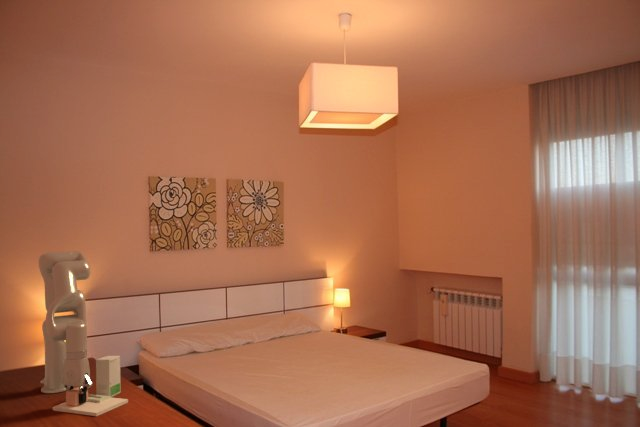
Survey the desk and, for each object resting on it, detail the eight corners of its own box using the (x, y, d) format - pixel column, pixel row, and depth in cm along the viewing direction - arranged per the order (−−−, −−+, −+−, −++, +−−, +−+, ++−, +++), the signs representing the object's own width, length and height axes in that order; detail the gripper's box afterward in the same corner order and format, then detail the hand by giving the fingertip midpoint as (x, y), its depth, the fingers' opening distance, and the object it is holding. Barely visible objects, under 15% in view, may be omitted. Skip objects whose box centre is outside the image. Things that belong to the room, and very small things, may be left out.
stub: (65, 404, 195) (65, 391, 196) (78, 399, 201) (78, 386, 201) (75, 405, 194) (75, 392, 194) (88, 400, 199) (87, 388, 199)
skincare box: (109, 398, 206) (109, 360, 207) (95, 398, 208) (94, 359, 208) (121, 392, 214) (121, 355, 215) (107, 391, 216) (107, 354, 216)
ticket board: (52, 410, 194) (52, 404, 194) (86, 397, 209) (86, 391, 209) (96, 416, 186) (96, 409, 186) (128, 402, 201) (128, 396, 201)
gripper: (52, 356, 198) (52, 403, 197) (85, 358, 191) (85, 407, 191) (68, 351, 205) (68, 397, 204) (100, 354, 198) (101, 401, 198)
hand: (77, 401), depth 197 cm, fingers closed on stub, 5 cm apart
